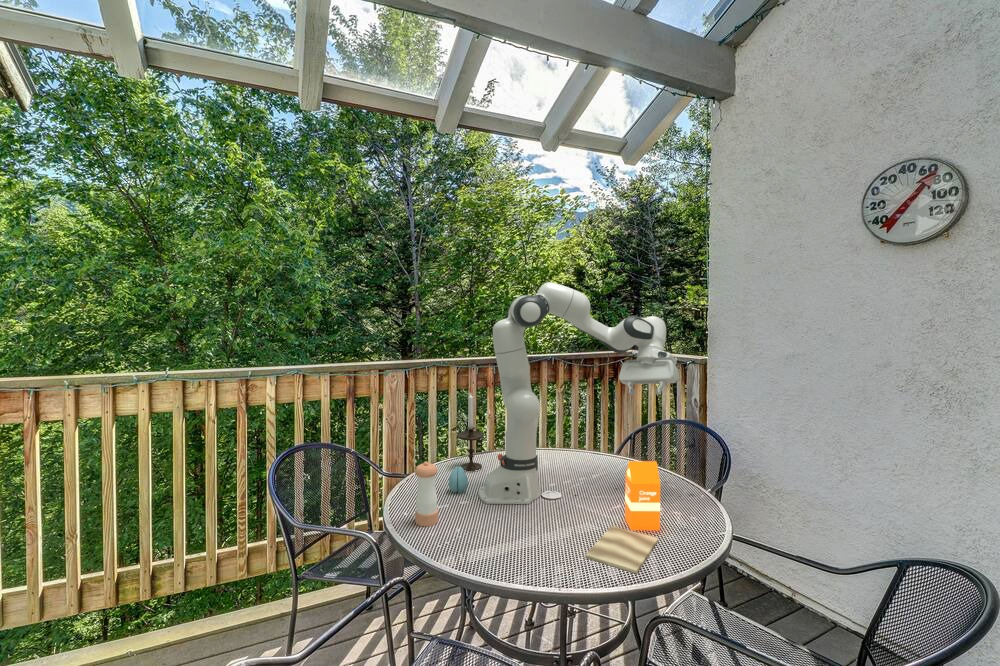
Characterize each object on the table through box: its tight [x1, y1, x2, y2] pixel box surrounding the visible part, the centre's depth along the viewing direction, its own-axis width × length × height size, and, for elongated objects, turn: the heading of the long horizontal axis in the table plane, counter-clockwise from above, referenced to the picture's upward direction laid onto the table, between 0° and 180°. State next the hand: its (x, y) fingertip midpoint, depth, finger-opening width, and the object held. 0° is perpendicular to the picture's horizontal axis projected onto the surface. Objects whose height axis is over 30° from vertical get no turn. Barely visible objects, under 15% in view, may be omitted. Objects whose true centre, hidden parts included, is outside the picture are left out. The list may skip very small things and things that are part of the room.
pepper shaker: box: [414, 461, 439, 527], centre depth 149 cm, size 7×7×19 cm
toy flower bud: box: [448, 466, 469, 493], centre depth 175 cm, size 7×9×12 cm
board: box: [585, 525, 659, 575], centre depth 132 cm, size 20×14×1 cm
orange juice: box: [624, 460, 661, 531], centre depth 146 cm, size 8×9×20 cm
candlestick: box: [457, 386, 485, 471], centre depth 197 cm, size 11×11×35 cm
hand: (644, 394), depth 162 cm, fingers open, 8 cm apart
